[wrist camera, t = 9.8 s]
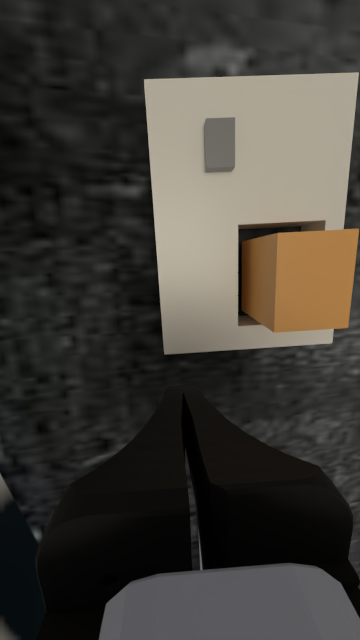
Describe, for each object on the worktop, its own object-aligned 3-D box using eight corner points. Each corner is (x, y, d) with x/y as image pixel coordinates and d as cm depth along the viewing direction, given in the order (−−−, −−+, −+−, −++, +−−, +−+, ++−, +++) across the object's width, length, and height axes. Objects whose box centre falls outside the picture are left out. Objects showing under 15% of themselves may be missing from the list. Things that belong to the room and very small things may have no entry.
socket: (309, 331, 21) (339, 347, 17) (164, 340, 20) (164, 358, 17) (325, 104, 17) (369, 61, 13) (148, 111, 16) (142, 68, 13)
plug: (286, 304, 20) (348, 327, 13) (237, 307, 20) (274, 332, 13) (290, 239, 19) (359, 228, 12) (238, 242, 19) (277, 233, 12)
